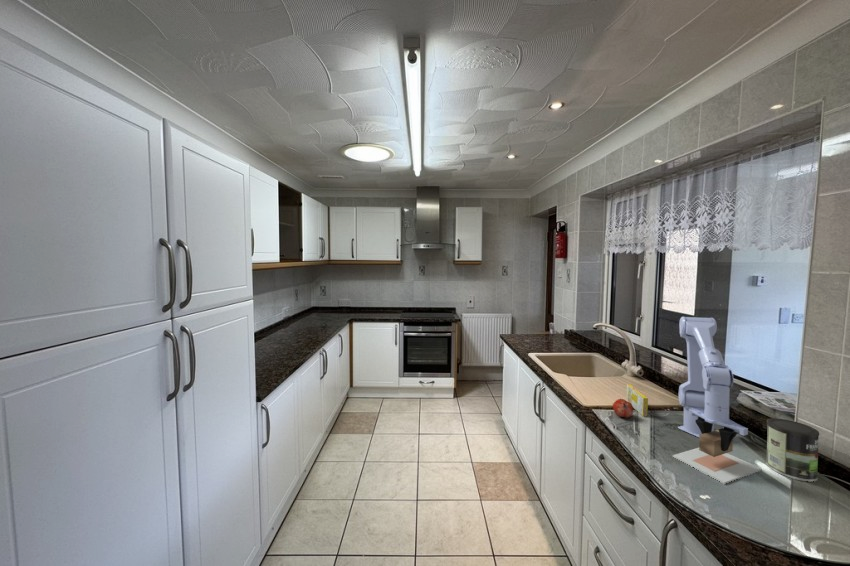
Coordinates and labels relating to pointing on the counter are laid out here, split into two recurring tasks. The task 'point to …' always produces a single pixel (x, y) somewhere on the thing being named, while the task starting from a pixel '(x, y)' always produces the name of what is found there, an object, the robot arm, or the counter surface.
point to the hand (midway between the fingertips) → (715, 446)
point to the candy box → (637, 400)
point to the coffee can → (792, 449)
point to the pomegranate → (623, 408)
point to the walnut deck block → (712, 443)
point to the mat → (717, 465)
